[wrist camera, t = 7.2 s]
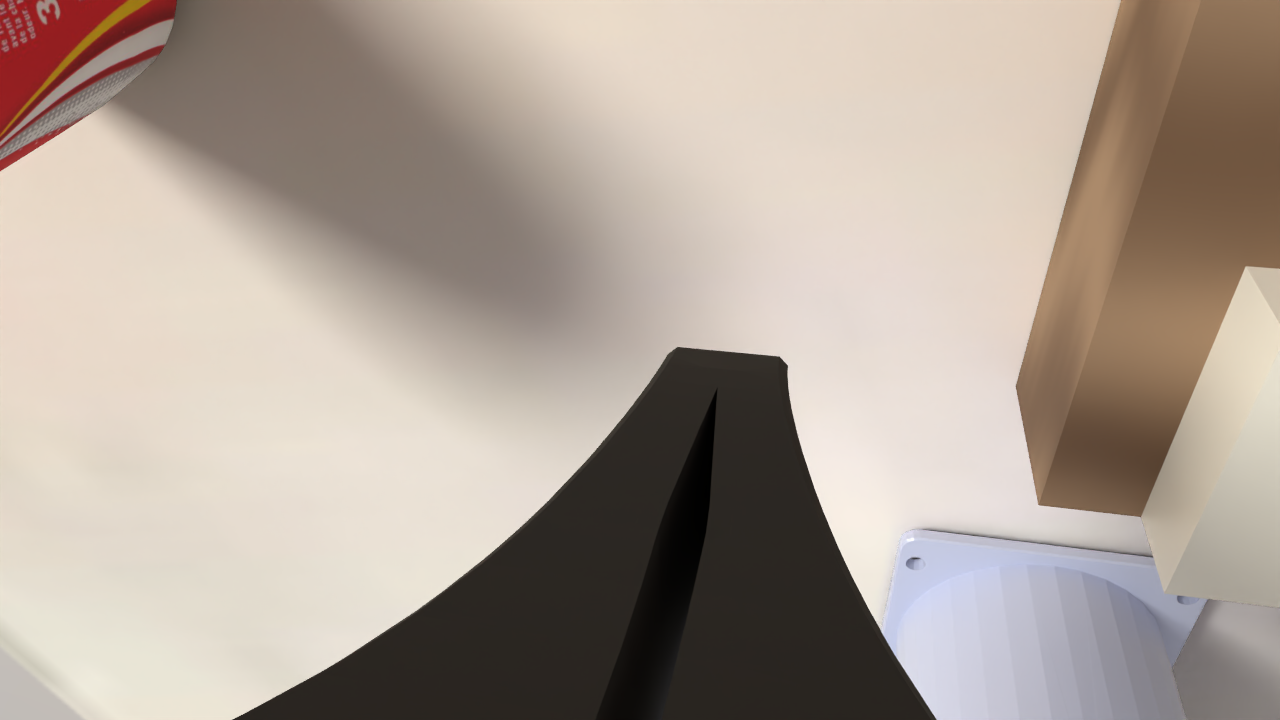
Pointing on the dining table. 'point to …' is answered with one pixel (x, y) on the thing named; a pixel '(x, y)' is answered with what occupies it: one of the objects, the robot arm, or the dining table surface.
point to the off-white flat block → (1227, 463)
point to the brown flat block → (1152, 244)
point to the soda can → (70, 62)
